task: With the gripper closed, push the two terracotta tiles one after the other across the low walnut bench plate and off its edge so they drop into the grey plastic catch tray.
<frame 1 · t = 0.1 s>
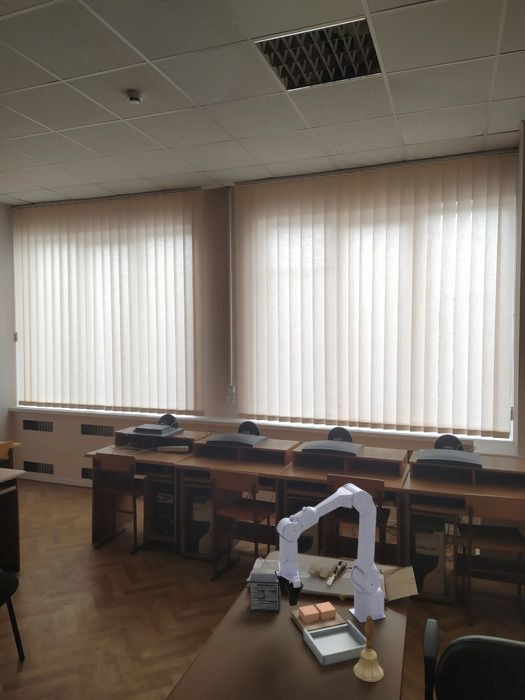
hand: (288, 599, 162), 10 cm above the table, fingers open, 7 cm apart
tile far: (308, 617, 166), point 2 cm above the table, touching bench plate
catch tray: (336, 646, 154), on the table
tile near: (325, 614, 168), point 2 cm above the table, touching bench plate
bench plate: (317, 622, 167), on the table
hand bell: (368, 673, 142), on the table
small box: (265, 607, 177), on the table
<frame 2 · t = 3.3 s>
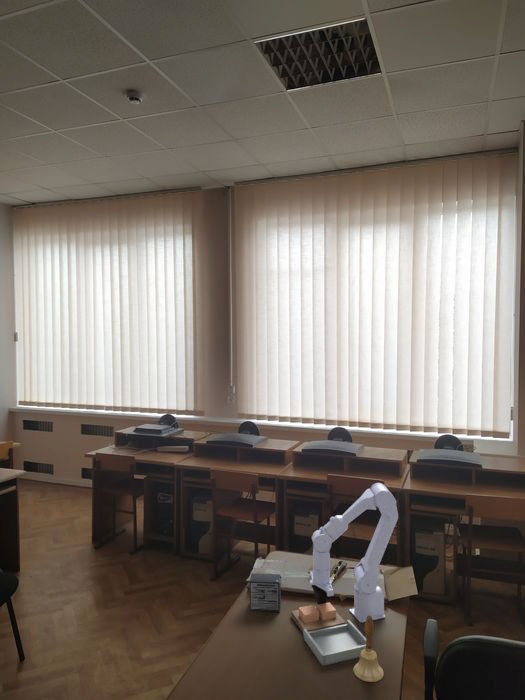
hand: (321, 607, 171), 3 cm above the table, fingers closed
tile near: (326, 614, 168), point 2 cm above the table, touching gripper
everything else where it was.
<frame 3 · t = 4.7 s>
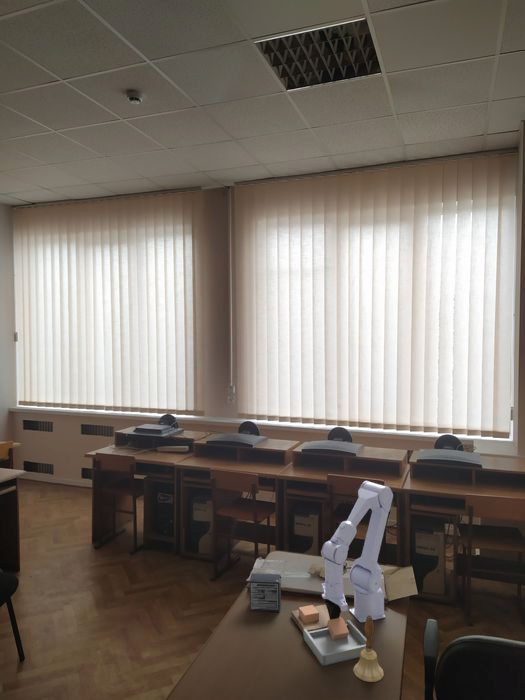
hand: (334, 622, 162), 3 cm above the table, fingers closed
tile near: (337, 631, 159), point 2 cm above the table, tilted 27°, touching catch tray, gripper
everything else where it was.
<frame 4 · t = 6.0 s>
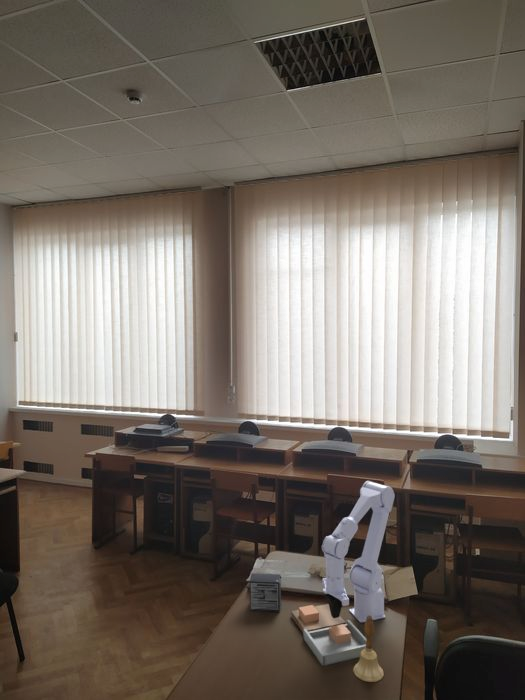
hand: (335, 616, 162), 5 cm above the table, fingers closed
tile near: (339, 637, 158), resting on catch tray
everything else where it was.
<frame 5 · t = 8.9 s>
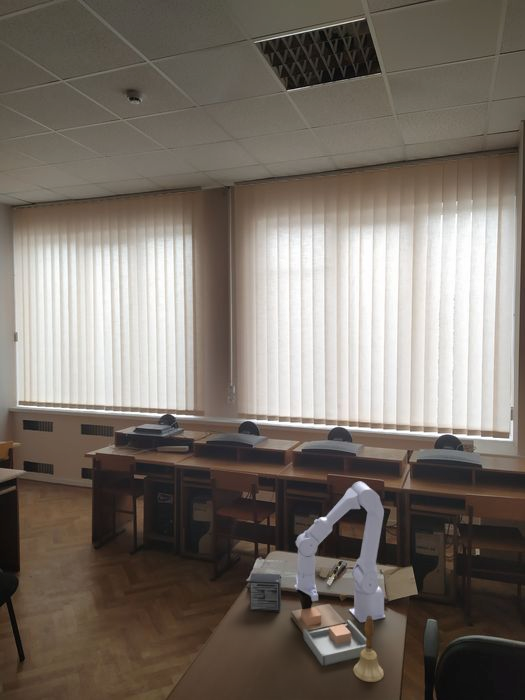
hand: (306, 611, 168), 3 cm above the table, fingers closed
tile far: (311, 620, 165), point 2 cm above the table
everything else where it was.
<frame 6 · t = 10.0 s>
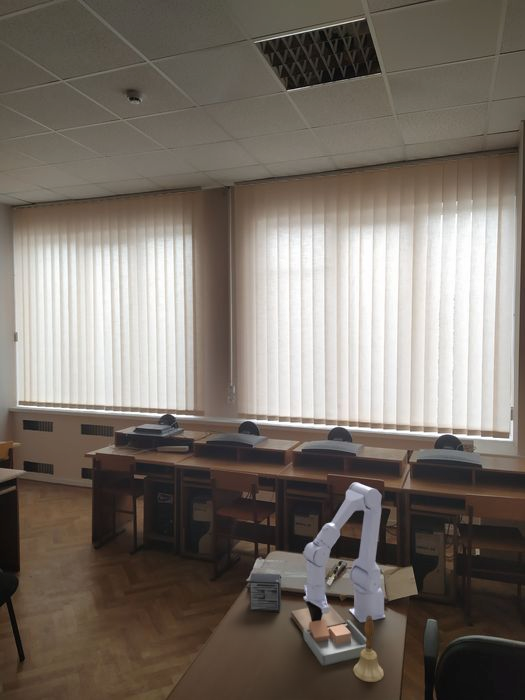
hand: (316, 624, 161), 3 cm above the table, fingers closed
tile far: (318, 633, 158), point 2 cm above the table, tilted 30°, touching gripper
everything else where it was.
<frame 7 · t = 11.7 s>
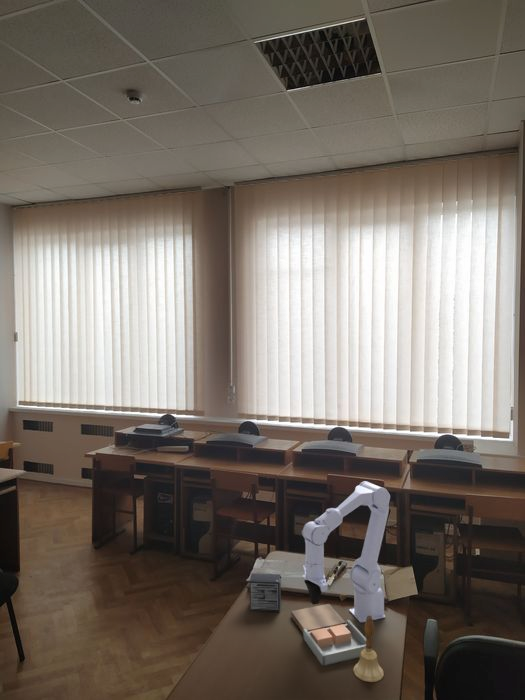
hand: (314, 603, 162), 9 cm above the table, fingers closed
tile far: (321, 641, 156), resting on catch tray
everything else where it was.
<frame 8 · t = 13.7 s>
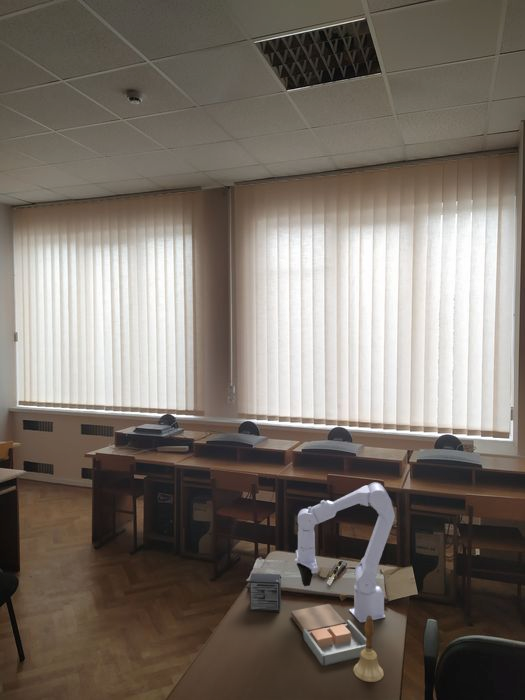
hand: (306, 585, 173), 9 cm above the table, fingers closed
nothing on the table moved.
at the end: tile near inside the target area on the catch tray (4.2 cm from its centre), point 0.4 cm above the catch tray's base; tile far inside the target area on the catch tray (4.9 cm from its centre), point 0.4 cm above the catch tray's base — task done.
